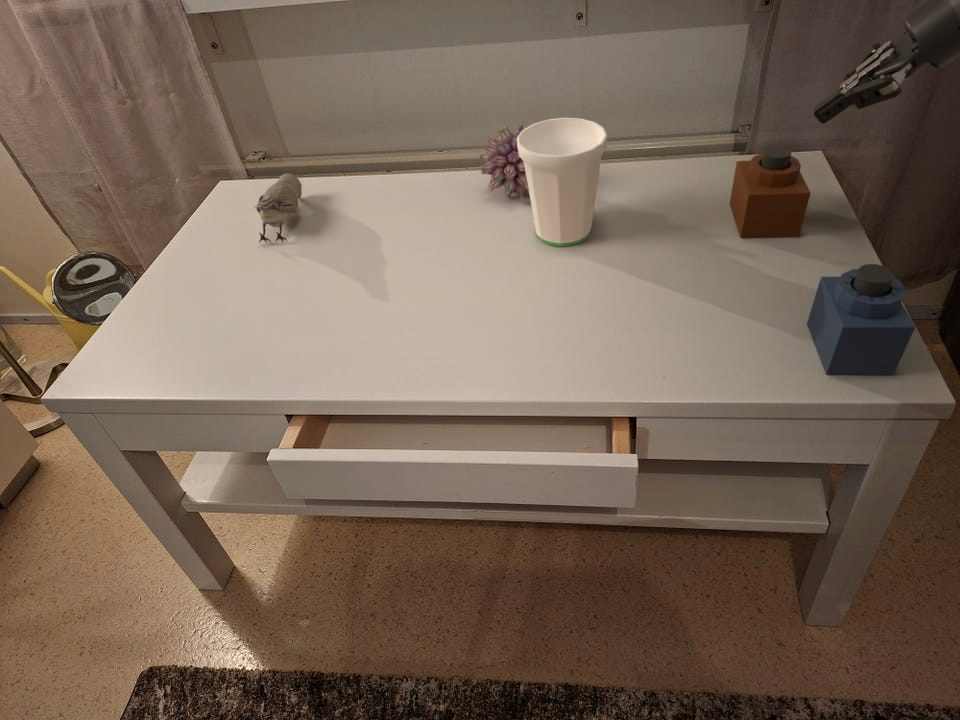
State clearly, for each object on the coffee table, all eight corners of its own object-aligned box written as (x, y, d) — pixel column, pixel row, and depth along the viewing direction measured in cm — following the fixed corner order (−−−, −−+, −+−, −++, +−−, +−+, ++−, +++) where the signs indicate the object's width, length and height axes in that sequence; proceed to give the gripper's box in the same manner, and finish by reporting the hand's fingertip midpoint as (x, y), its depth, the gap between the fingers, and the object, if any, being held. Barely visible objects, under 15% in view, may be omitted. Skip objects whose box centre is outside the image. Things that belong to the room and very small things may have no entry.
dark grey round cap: (848, 279, 72) (853, 264, 70) (882, 279, 71) (888, 263, 70) (857, 298, 69) (863, 282, 68) (892, 298, 69) (899, 282, 67)
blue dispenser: (806, 323, 80) (825, 262, 74) (868, 323, 79) (892, 261, 73) (825, 374, 73) (848, 312, 67) (893, 375, 72) (922, 311, 66)
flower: (537, 181, 116) (565, 197, 106) (473, 195, 114) (496, 213, 104) (531, 113, 110) (560, 123, 100) (464, 127, 108) (487, 138, 98)
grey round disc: (790, 171, 90) (794, 157, 89) (763, 172, 91) (766, 158, 89) (785, 159, 93) (788, 145, 91) (758, 160, 93) (761, 146, 92)
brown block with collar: (799, 237, 93) (814, 179, 87) (740, 238, 94) (751, 181, 88) (784, 201, 100) (797, 145, 94) (729, 203, 102) (738, 148, 96)
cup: (546, 204, 107) (543, 112, 97) (617, 220, 101) (622, 124, 91) (507, 243, 100) (499, 148, 89) (582, 262, 94) (582, 163, 84)
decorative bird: (314, 197, 117) (302, 158, 112) (289, 247, 106) (274, 206, 101) (285, 198, 118) (272, 160, 113) (257, 248, 106) (241, 208, 101)
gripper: (933, -28, 78) (797, 77, 89) (956, 6, 69) (801, 117, 80) (967, 19, 80) (830, 116, 91) (993, 58, 71) (838, 160, 82)
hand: (817, 116), depth 86 cm, fingers closed
